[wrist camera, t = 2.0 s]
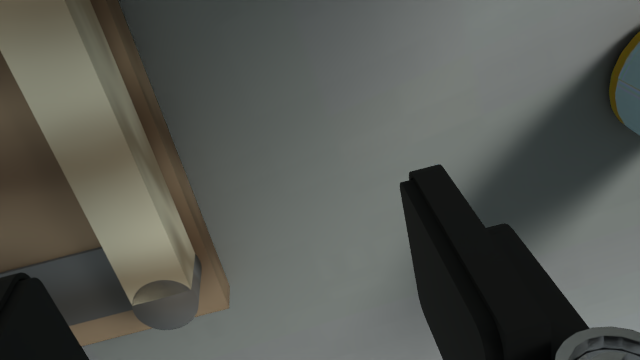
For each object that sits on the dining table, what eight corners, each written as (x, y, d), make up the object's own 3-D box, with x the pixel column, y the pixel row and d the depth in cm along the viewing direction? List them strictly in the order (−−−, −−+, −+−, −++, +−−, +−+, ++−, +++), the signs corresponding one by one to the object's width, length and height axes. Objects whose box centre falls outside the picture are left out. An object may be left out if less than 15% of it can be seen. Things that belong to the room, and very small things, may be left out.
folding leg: (209, 283, 31) (206, 320, 29) (153, 297, 31) (146, 336, 29) (78, -34, 23) (57, -22, 20) (2, -14, 23) (-29, 0, 20)
